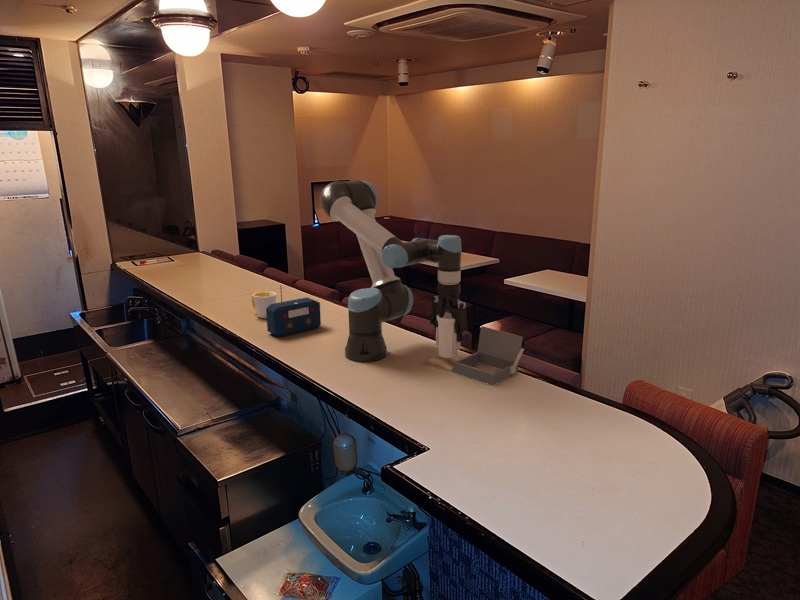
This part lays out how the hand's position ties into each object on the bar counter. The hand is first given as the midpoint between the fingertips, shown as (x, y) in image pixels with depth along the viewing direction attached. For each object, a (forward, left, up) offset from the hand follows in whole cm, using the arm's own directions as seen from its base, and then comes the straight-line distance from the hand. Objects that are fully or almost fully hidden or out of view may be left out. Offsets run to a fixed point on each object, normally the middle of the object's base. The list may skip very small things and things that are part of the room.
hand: (447, 347), depth 187 cm
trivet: (0, 0, -6) cm, 6 cm away
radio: (-16, +68, -6) cm, 70 cm away
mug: (-13, +96, -6) cm, 97 cm away
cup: (0, 0, -3) cm, 3 cm away
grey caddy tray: (+3, -15, -6) cm, 16 cm away
